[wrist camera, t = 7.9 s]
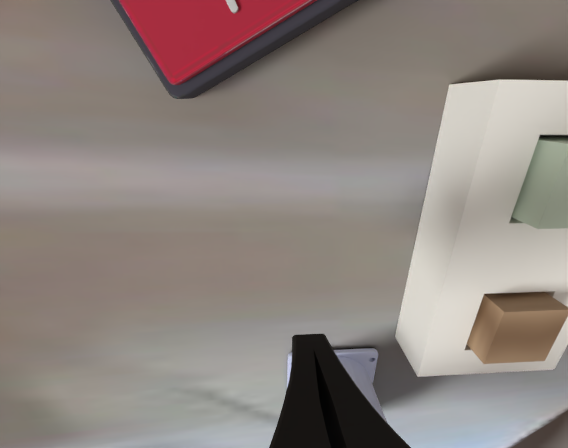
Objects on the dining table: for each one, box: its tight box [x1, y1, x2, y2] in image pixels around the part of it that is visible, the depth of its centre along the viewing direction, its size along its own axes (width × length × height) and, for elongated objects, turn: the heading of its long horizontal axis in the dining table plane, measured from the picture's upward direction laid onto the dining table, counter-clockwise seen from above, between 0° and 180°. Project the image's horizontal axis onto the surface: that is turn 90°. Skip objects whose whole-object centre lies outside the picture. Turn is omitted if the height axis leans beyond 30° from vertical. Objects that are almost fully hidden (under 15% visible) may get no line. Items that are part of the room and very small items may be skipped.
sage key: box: [511, 136, 568, 229], centre depth 16 cm, size 4×4×4 cm
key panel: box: [395, 79, 568, 377], centre depth 20 cm, size 20×11×4 cm, turn 179°
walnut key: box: [467, 292, 568, 364], centre depth 20 cm, size 4×4×4 cm
